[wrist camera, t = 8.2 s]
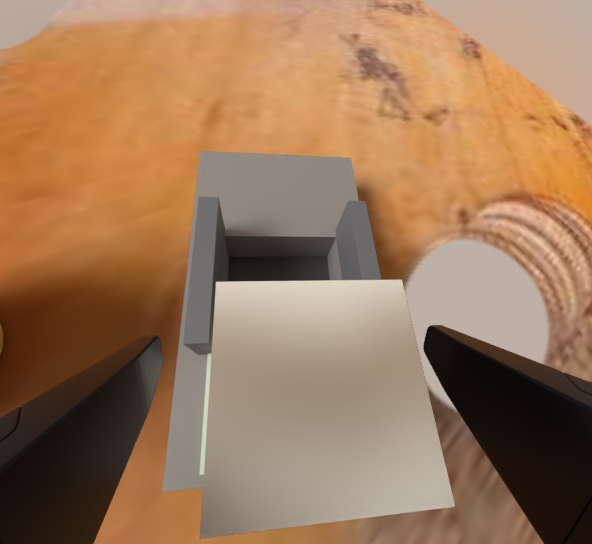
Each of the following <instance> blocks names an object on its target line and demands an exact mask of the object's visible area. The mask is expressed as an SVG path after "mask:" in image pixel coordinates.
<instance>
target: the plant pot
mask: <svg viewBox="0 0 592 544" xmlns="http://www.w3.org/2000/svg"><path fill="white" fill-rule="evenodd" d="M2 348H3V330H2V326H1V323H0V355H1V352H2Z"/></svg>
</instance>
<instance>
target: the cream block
mask: <svg viewBox="0 0 592 544" xmlns="http://www.w3.org/2000/svg"><path fill="white" fill-rule="evenodd" d="M448 507H455V504H454V500H453V495H452V491H451V487H450V483H449V478H448V474H447V470H446V466H445V461H444V457H443V453H442V449H441V444H440V440H439V436H438V432H437V427H436V423H435V419H434V415H433V410H432V406H431V402H430V398H429V393H428V389H427V385H426V381H425V376H424V372H423V368H422V364H421V359H420V356H419V351H418V347H417V342H416V338H415V334H414V330H413V325H412V321H411V318H410V313H409V308H408V304H407V300H406V296H405V291H404V287H403V283H402V280H324V281H237V282H216V291H215V307H214V322H213V338H212V354H211V369H210V385H209V401H208V416H207V432H206V448H205V463H204V479H203V495H202V511H201V526H200V539H202V538H210V537H218V536H226V535H234V534H242V533H250V532H257V531H265V530H273V529H281V528H289V527H297V526H305V525H313V524H321V523H329V522H337V521H345V520H353V519H361V518H369V517H377V516H385V515H393V514H401V513H409V512H416V511H424V510H432V509H440V508H448Z"/></svg>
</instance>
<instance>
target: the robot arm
mask: <svg viewBox="0 0 592 544" xmlns="http://www.w3.org/2000/svg"><path fill="white" fill-rule="evenodd" d="M424 352H425V354H426V356H427V358H428V360H429V362H430V364H431V366H432V368H433V369H434V371H435V373H436V375H437V377H438V379H439V381H440V383H441V385H442V387H443V388H444V390H445V392H446V393H447V395H448V397H449V398H450V400H451V401H452V403H453V404H454V406H455V408H456V409H457V411H458V412H459V414H460V415H461V417H462V418H463V420H464V421H465V423H466V424H467V426H468V428H469V429H470V431H471V432H472V434H473V435H474V437H475V438H476V440H477V441H478V443H479V444H480V446H481V448H482V449H483V451H484V452H485V454H486V455H487V457H488V458H489V460H490V461H491V463H492V464H493V466H494V468H495V469H496V471H497V472H498V474H499V475H500V477H501V478H502V480H503V481H504V483H505V484H506V486H507V487H508V489H509V491H510V492H511V494H512V495H513V497H514V498H515V500H516V501H517V503H518V504H519V506H520V507H521V509H522V511H523V512H524V514H525V515H526V517H527V518H528V520H529V521H530V523H531V524H532V526H533V527H534V529H535V531H536V532H537V534H538V535H539V537H540V538H541V540H542V541H543V543H544V544H592V383H590V382H588V381H585V380H582V379H580V378H577V377H574V376H572V375H569V374H567V373H562V372H561V371H559V370H556V369H554V368H551V367H548V366H546V365H543V364H541V363H538V362H535V361H532V360H530V359H527V358H525V357H522V356H520V355H517V354H514V353H512V352H509V351H507V350H504V349H502V348H499V347H496V346H494V345H491V344H489V343H486V342H483V341H481V340H478V339H476V338H473V337H471V336H468V335H465V334H463V333H460V332H458V331H455V330H452V329H450V328H447V327H444V326H442V325H432V326H429V327H428V329H427V333H426V337H425V341H424ZM162 364H163V355H162V348H161V342H160V338H159V336H157V335H151V336H143V337H141V338H139V339H138V340H136V341H134V342H132V343H131V344H129V345H127V346H125V347H124V348H122V349H120V350H118V351H117V352H115V353H113V354H111V355H110V356H108V357H106V358H104V359H103V360H101V361H99V362H97V363H96V364H94V365H92V366H90V367H88V368H87V369H85V370H83V371H81V372H80V373H78V374H76V375H74V376H73V377H71V378H69V379H67V380H66V381H64V382H62V383H60V384H59V385H57V386H55V387H53V388H52V389H50V390H48V391H46V392H45V393H43V394H41V395H39V396H38V397H36V398H34V399H32V400H30V401H29V402H27V403H25V404H23V405H22V407H21V408H20V407H18V408H16V409H14V410H13V411H11V412H9V413H8V414H6V415H4V416H2V417H1V418H0V544H94V541H95V539H96V536H97V534H98V532H99V529H100V527H101V524H102V522H103V520H104V517H105V515H106V513H107V510H108V508H109V505H110V503H111V501H112V498H113V496H114V493H115V491H116V489H117V486H118V484H119V482H120V479H121V477H122V474H123V472H124V470H125V467H126V465H127V462H128V460H129V458H130V455H131V453H132V451H133V448H134V446H135V443H136V441H137V439H138V436H139V434H140V431H141V429H142V427H143V424H144V422H145V419H146V417H147V414H148V412H149V409H150V406H151V403H152V399H153V396H154V392H155V389H156V385H157V382H158V379H159V375H160V372H161V368H162Z"/></svg>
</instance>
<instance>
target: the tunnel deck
mask: <svg viewBox="0 0 592 544" xmlns="http://www.w3.org/2000/svg"><path fill="white" fill-rule="evenodd" d="M324 280H382V279H381V274H380V269H379V264H378V260H377V255H376V250H375V245H374V240H373V235H372V230H371V225H370V220H369V215H368V210H367V205H366V201H359V198H358V193H357V188H356V183H355V178H354V172H353V167H352V162H351V158H342V157H320V156H299V155H277V154H256V153H234V152H213V151H200V158H199V167H198V176H197V185H196V194H195V203H194V212H193V221H192V230H191V239H190V248H189V257H188V266H187V274H186V283H185V292H184V301H183V310H182V319H181V328H180V337H179V346H178V355H177V364H176V373H175V382H174V391H173V400H172V409H171V417H170V426H169V435H168V444H167V453H166V462H165V471H164V480H163V489H162V492H167V491H176V490H186V489H195V488H203V479H204V463H205V448H206V432H207V416H208V401H209V385H210V369H211V354H212V338H213V322H214V307H215V291H216V282H237V281H324Z"/></svg>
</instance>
